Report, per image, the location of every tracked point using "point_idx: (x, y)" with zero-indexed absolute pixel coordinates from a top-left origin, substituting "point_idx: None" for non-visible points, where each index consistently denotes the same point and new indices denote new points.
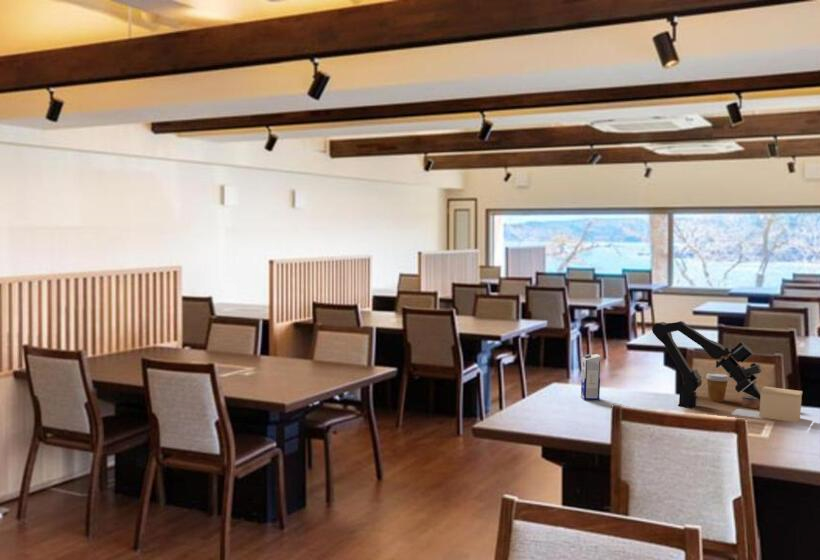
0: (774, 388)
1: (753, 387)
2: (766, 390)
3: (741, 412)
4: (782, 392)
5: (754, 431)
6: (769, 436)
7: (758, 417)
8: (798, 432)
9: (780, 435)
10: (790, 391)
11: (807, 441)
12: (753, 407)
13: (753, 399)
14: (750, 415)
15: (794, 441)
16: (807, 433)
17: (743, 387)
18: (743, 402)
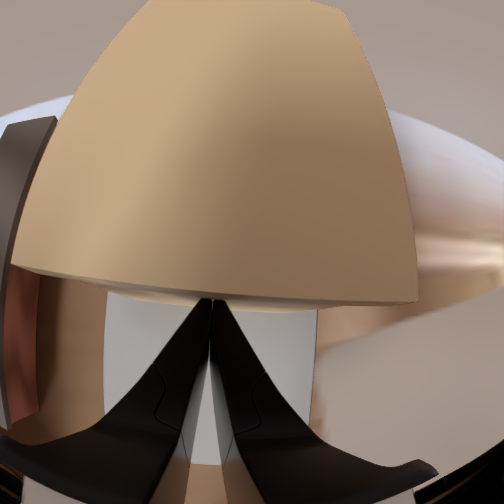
0: (126, 106)
1: (320, 445)
2: (397, 208)
3: (209, 427)
4: (356, 64)
5: (491, 287)
6: (501, 241)
7: (301, 315)
8: (424, 153)
9: (482, 211)
10: (235, 12)
11: (475, 154)
12: (30, 353)
13: (1, 360)
14: (270, 368)
15: (493, 184)
16: (414, 130)
17: (499, 452)
18: (22, 412)
